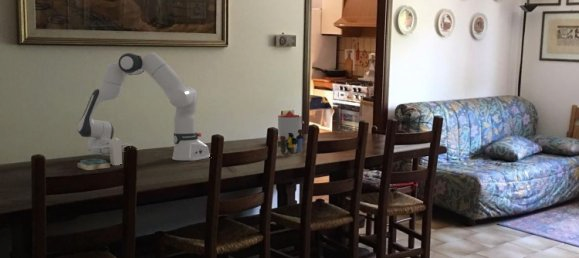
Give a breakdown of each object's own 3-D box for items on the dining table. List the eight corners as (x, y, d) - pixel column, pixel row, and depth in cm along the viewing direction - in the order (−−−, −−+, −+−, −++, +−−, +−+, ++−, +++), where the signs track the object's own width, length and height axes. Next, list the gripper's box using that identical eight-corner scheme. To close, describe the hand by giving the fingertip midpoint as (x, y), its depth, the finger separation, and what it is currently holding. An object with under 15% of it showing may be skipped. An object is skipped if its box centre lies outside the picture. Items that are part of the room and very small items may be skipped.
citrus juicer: (307, 142, 387) (307, 111, 384) (281, 144, 382) (281, 112, 380) (300, 139, 402) (300, 109, 399) (275, 140, 397) (274, 110, 395)
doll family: (292, 150, 357) (291, 127, 355) (306, 150, 354) (306, 128, 352) (277, 156, 335) (277, 132, 334) (293, 157, 332) (292, 133, 331)
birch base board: (100, 164, 313) (100, 157, 312) (110, 167, 304) (109, 160, 303) (77, 167, 305) (77, 160, 305) (86, 170, 296) (86, 163, 296)
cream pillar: (118, 163, 315) (117, 137, 313) (122, 164, 312) (121, 138, 310) (110, 164, 312) (109, 137, 311) (114, 165, 309) (113, 138, 307)
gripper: (85, 143, 314) (96, 146, 304) (123, 139, 327) (134, 142, 317) (86, 155, 315) (97, 158, 304) (123, 151, 328) (134, 154, 317)
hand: (116, 150), depth 311 cm, fingers open, 8 cm apart
